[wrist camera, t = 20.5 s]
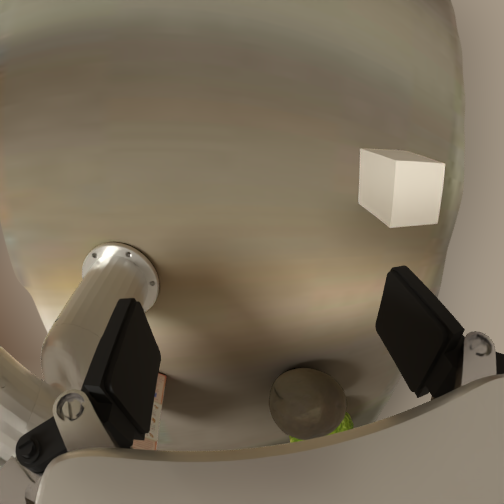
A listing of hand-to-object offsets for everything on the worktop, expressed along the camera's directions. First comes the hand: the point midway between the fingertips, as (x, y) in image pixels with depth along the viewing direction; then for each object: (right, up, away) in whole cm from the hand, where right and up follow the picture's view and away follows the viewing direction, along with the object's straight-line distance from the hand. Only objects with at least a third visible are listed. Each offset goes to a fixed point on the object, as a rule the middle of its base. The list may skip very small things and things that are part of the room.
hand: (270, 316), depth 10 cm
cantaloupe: (+9, -22, +42) cm, 49 cm away
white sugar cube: (+18, +13, +25) cm, 33 cm away
